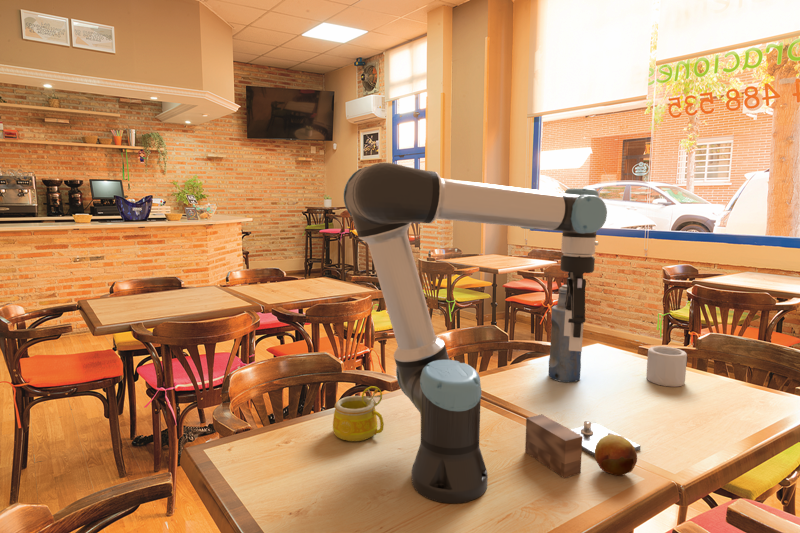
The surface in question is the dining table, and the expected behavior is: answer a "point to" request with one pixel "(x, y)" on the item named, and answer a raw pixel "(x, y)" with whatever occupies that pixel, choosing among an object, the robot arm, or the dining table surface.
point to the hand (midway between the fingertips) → (572, 343)
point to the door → (553, 445)
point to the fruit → (615, 455)
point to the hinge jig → (595, 436)
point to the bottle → (562, 345)
